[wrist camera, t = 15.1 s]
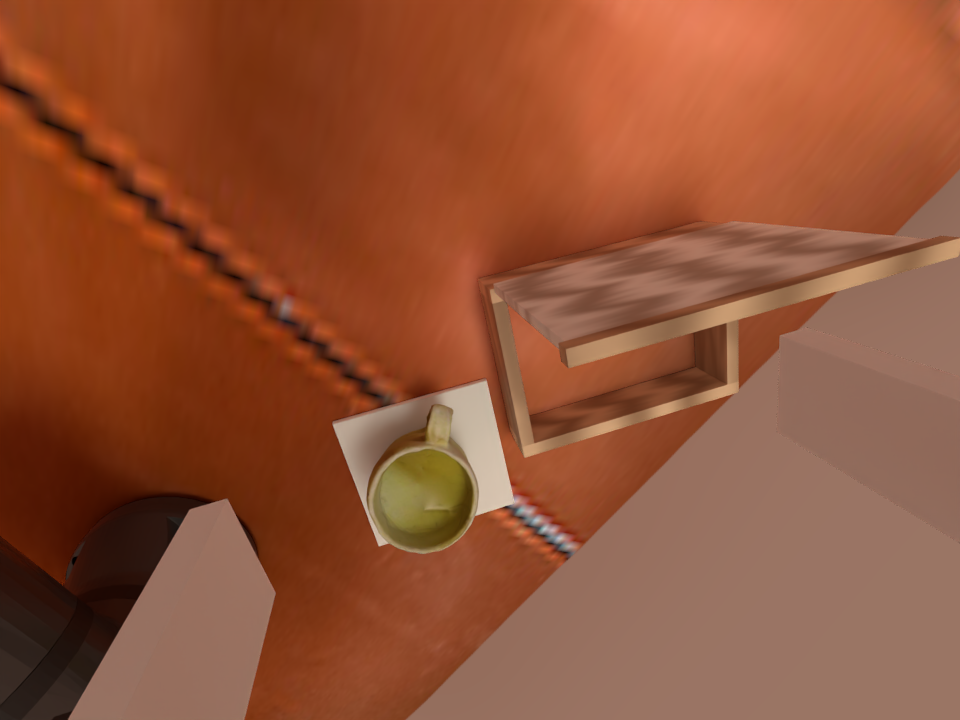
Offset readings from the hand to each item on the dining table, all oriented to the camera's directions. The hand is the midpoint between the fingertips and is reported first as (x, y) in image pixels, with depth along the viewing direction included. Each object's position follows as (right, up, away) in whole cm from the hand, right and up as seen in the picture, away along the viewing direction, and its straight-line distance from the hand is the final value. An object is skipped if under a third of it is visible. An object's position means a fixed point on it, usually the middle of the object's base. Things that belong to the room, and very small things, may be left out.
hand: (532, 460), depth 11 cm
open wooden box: (+11, +5, +36) cm, 38 cm away
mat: (-6, -8, +37) cm, 39 cm away
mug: (-5, -9, +37) cm, 38 cm away
